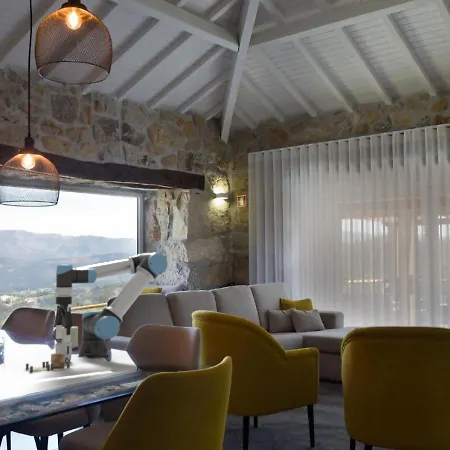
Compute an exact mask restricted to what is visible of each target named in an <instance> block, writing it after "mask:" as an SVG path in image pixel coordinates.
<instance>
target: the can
mask: <svg viewBox="0 0 450 450" xmlns="http://www.w3.org/2000/svg"><path fill="white" fill-rule="evenodd" d="M64 327H65V326H62V338H61V343H63V342H65V328H64ZM71 343H73V344H72V349H75V348H74V347H77V346H78V347H79V326H75V325H74V326H73V327H71ZM78 347H77V348H78Z"/></svg>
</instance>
